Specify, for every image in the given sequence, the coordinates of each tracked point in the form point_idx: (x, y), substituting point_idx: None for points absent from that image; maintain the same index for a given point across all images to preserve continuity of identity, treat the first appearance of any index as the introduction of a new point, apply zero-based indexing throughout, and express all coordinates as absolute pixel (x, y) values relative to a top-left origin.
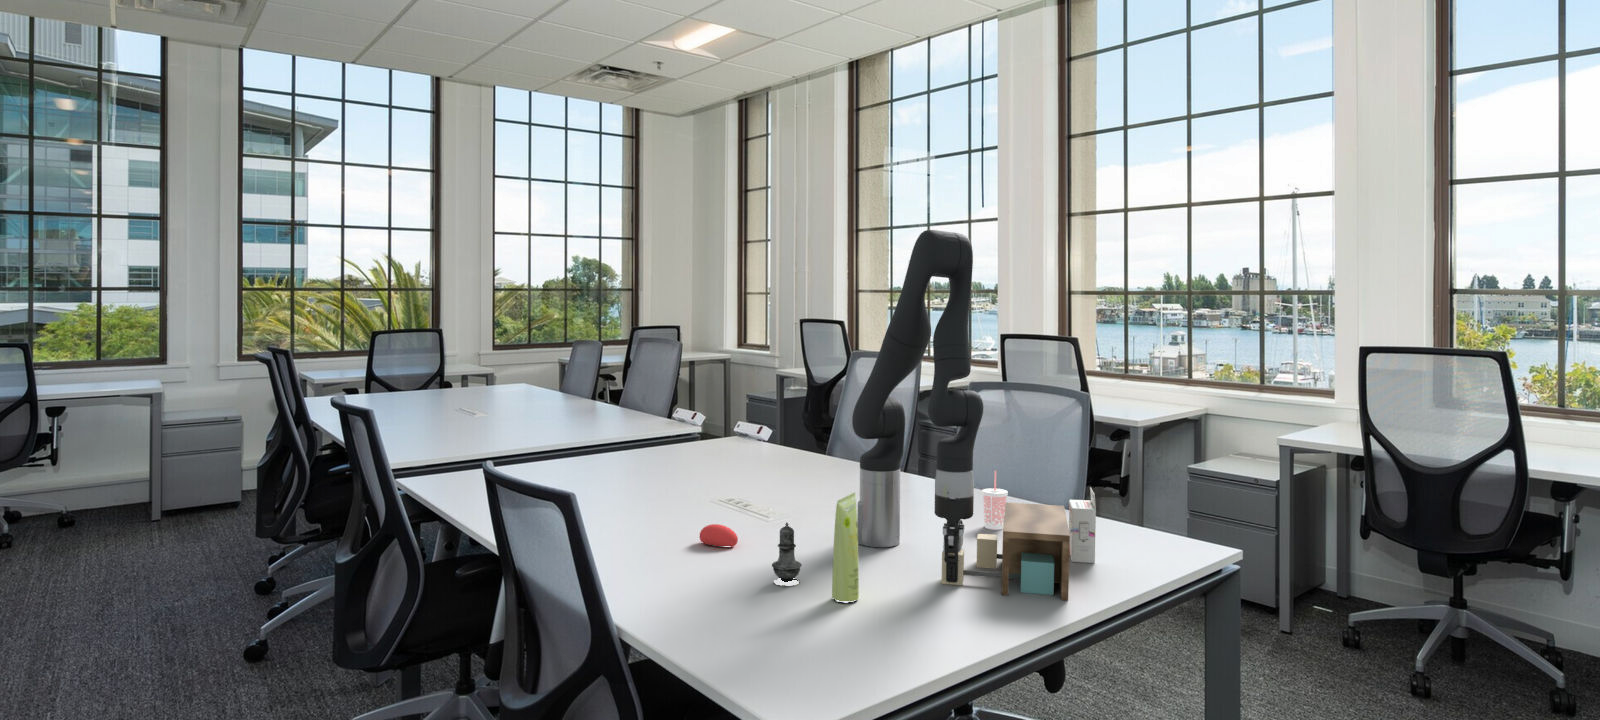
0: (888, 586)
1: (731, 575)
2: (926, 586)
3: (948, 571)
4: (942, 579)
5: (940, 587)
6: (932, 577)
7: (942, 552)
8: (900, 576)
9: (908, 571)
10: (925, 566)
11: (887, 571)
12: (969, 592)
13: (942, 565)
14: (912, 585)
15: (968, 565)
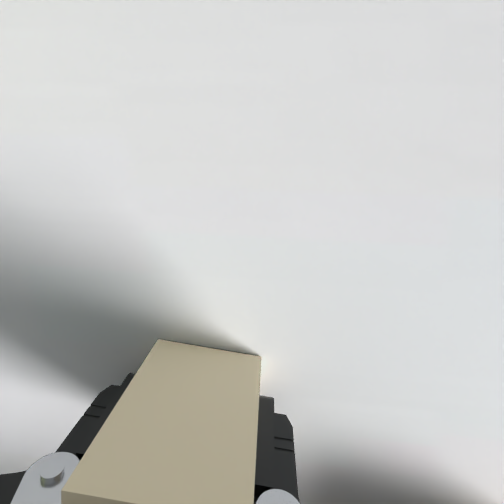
0: (49, 32)
1: None
2: (103, 262)
3: (79, 422)
4: (148, 355)
5: (103, 328)
6: (261, 303)
7: (99, 496)
8: (261, 116)
9: (368, 172)
10: (471, 280)
11: (366, 19)
12: (64, 438)
13: (115, 411)
14: (102, 187)
15: (474, 486)
